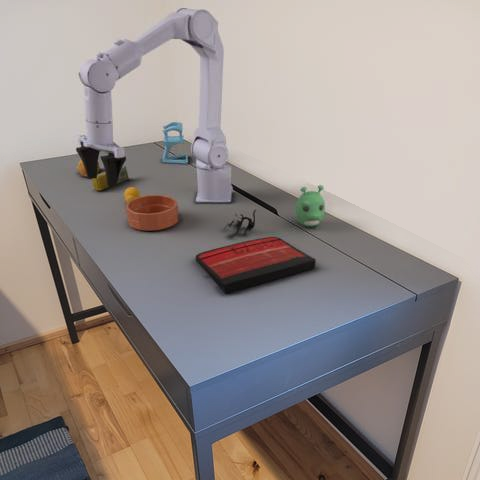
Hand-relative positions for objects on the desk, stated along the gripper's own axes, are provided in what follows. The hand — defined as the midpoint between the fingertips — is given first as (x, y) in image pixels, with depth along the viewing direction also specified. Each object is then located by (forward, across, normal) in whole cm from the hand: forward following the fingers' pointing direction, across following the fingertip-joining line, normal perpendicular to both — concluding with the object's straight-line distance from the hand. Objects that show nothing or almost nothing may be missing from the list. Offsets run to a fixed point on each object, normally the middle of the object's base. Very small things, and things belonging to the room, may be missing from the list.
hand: (102, 182), depth 114 cm
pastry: (+8, -35, +21) cm, 41 cm away
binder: (+8, +41, +7) cm, 43 cm away
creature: (+7, +29, +18) cm, 35 cm away
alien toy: (+5, +40, +30) cm, 51 cm away
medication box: (+9, -21, +18) cm, 29 cm away
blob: (+9, -5, +14) cm, 17 cm away
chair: (+6, -23, +46) cm, 52 cm away
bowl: (+9, +8, +9) cm, 15 cm away
